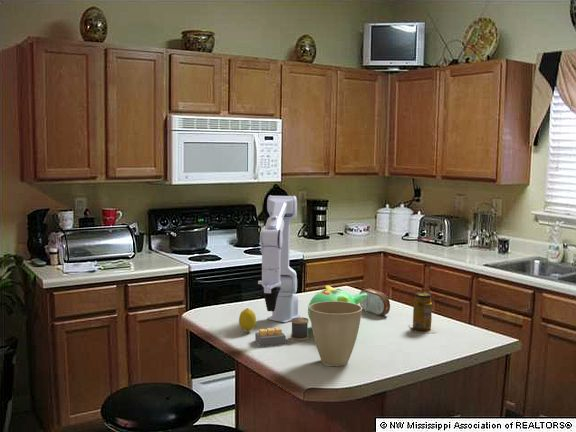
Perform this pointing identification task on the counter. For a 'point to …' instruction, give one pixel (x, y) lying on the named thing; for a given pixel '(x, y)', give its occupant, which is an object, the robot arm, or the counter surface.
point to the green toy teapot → (336, 297)
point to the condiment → (422, 313)
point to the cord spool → (299, 328)
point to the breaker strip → (270, 337)
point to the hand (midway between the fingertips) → (271, 310)
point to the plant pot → (335, 330)
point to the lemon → (247, 320)
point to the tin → (375, 302)
